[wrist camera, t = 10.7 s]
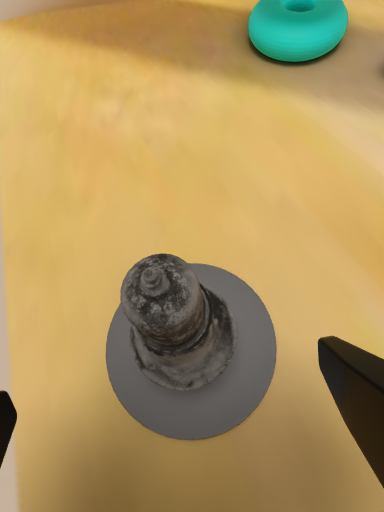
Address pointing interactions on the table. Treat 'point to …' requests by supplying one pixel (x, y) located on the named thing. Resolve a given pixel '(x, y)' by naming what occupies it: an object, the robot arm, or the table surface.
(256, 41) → the donuts
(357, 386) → the robot arm
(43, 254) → the table surface
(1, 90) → the table surface
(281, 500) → the table surface
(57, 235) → the table surface
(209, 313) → the dark grey tall piece
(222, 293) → the charcoal mat
